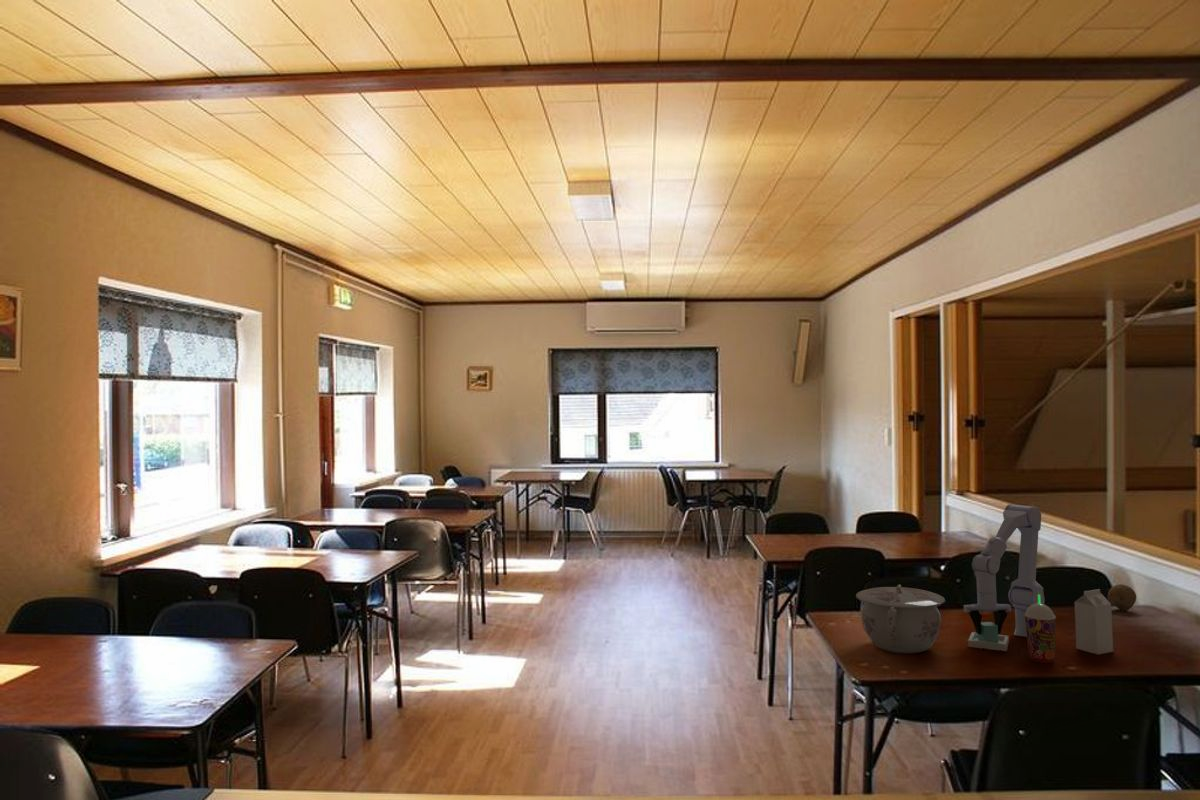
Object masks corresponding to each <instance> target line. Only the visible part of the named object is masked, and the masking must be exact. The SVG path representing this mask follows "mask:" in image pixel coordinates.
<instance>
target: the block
mask: <svg viewBox="0 0 1200 800" xmlns="http://www.w3.org/2000/svg"><path fill="white" fill-rule="evenodd" d="M998 635H999V634H998V626H997V625H996V624H995V622H992V621H985V622H984V621H983V622H982V621H981V634H978V641H986V642H995V643H998Z"/></svg>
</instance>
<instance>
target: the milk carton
mask: <svg viewBox="0 0 1200 800" xmlns="http://www.w3.org/2000/svg"><path fill="white" fill-rule="evenodd" d="M1073 604H1074V621H1075V642H1076V643H1075V645H1076V646H1075V647H1076V649H1077V650H1080V651H1083V652H1087V653H1090V654H1094V655H1102V654H1103V655H1104V654H1107V653H1108V654H1109V653H1112V652H1114V642H1113V641H1114V637H1113V618H1112V617H1113V616H1112V604H1111V603H1110V602H1109V601H1108V598H1106V597H1105V595H1103V593H1101V589H1100V588H1098V589H1092V590H1084V591H1083V595H1082V596H1080V597H1079V598H1078V599H1077V600H1075V601H1074V603H1073Z"/></svg>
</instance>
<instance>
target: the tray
mask: <svg viewBox="0 0 1200 800" xmlns="http://www.w3.org/2000/svg"><path fill="white" fill-rule="evenodd" d="M1009 636H1010V635H1004V634H998V643H995V642H986V641H978V634H977V633H976V631H971V633H970V636H969V638H968V639H967V640H968V641H967V642H968V647H969V648H973V649H974V648H976V649H977V648H978V649H983V648H984V650H992V651H1000V650H1001V651H1003V652H1007V651H1008V648H1009V647H1008V646H1009V643H1010V641H1009V640H1010V639H1009V638H1010V637H1009ZM985 648H986V649H985Z"/></svg>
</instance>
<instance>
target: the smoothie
mask: <svg viewBox="0 0 1200 800" xmlns="http://www.w3.org/2000/svg"><path fill="white" fill-rule="evenodd" d="M1024 615H1025V623H1026V632H1027V637H1026V639H1027V640H1026V641H1027V649H1028V655H1029V656H1030V659H1031V661H1033V662H1037V663H1040V664H1050V663H1053V661H1054V659H1055V658H1056V657H1055V656H1056V619H1057V616H1056V614H1054V612H1053V610H1052V608H1051V607H1049V606H1048V605H1046V604H1045V603H1044V604H1041V600H1040V595H1038V603H1036V604H1033V605H1031V606H1030V607H1029V608H1028V609H1027V611H1026V613H1025V614H1024Z"/></svg>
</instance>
